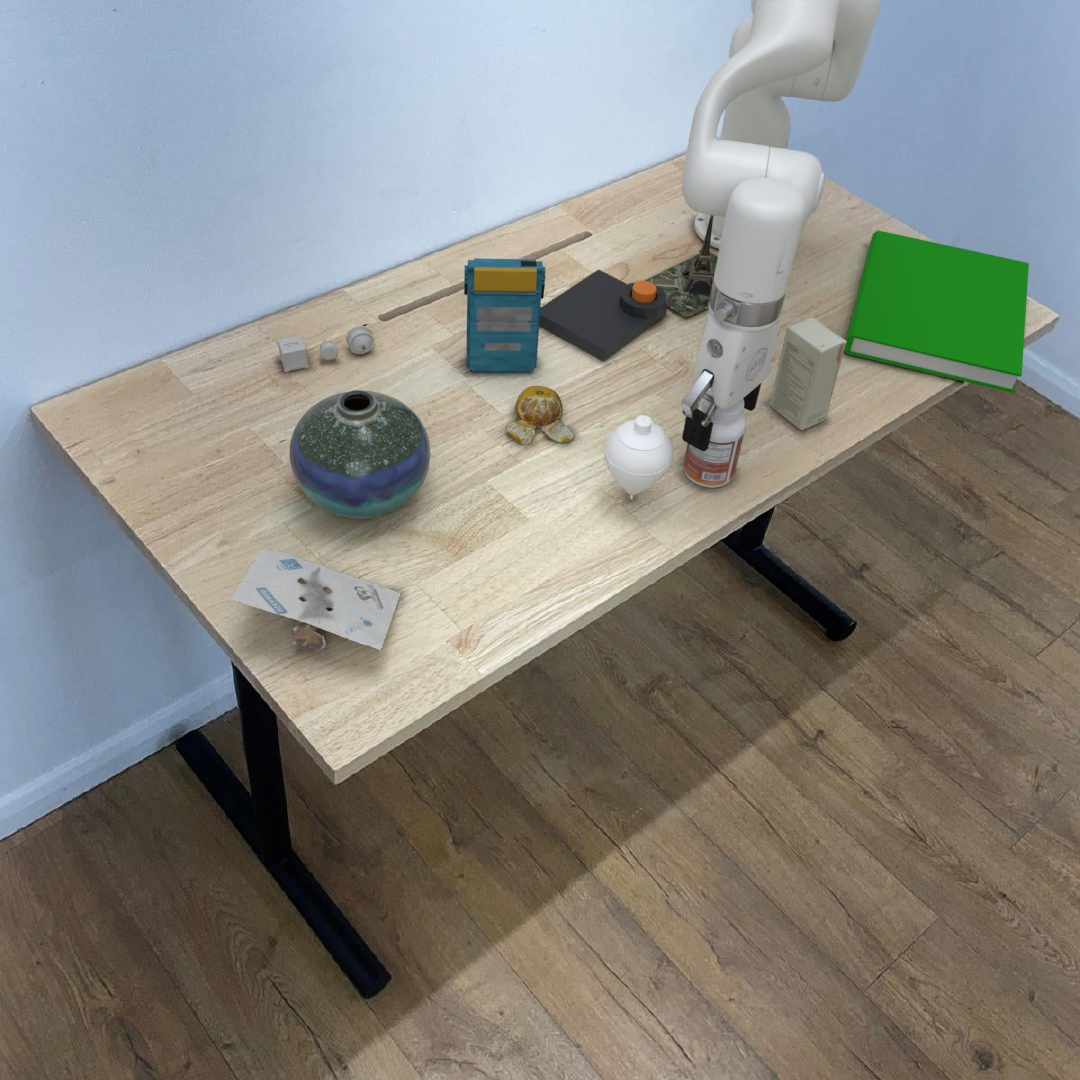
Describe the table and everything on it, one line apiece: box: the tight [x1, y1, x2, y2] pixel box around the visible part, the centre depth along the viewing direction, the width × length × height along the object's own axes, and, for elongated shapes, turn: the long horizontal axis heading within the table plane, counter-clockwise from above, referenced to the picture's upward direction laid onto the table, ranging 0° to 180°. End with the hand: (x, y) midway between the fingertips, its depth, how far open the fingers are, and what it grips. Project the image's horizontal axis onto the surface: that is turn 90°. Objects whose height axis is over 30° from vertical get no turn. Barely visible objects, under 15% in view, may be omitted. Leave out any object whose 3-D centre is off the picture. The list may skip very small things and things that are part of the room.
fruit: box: [505, 385, 576, 446], centre depth 142 cm, size 8×8×4 cm
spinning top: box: [603, 414, 674, 500], centre depth 131 cm, size 8×8×12 cm
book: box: [844, 230, 1030, 394], centre depth 163 cm, size 22×28×3 cm
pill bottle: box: [682, 388, 747, 489], centre depth 135 cm, size 6×6×11 cm
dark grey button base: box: [539, 269, 669, 362], centre depth 158 cm, size 15×12×4 cm
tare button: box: [632, 280, 657, 303], centre depth 157 cm, size 3×3×2 cm
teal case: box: [463, 257, 547, 374], centre depth 145 cm, size 10×4×15 cm, turn 93°
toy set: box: [276, 325, 375, 374], centre depth 149 cm, size 12×3×4 cm
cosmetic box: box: [769, 316, 846, 431], centre depth 143 cm, size 6×4×12 cm
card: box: [230, 546, 402, 652], centre depth 119 cm, size 11×15×5 cm
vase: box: [289, 389, 432, 520], centre depth 128 cm, size 15×15×13 cm
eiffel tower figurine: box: [644, 215, 718, 318], centre depth 161 cm, size 15×10×13 cm
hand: (718, 424), depth 133 cm, fingers open, 9 cm apart
